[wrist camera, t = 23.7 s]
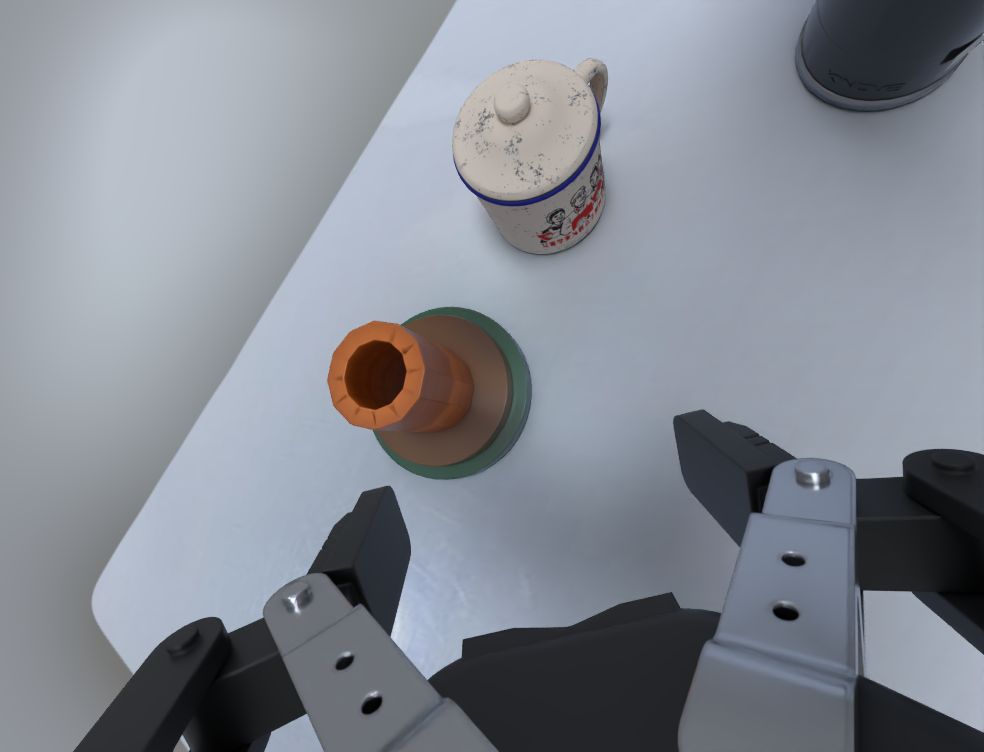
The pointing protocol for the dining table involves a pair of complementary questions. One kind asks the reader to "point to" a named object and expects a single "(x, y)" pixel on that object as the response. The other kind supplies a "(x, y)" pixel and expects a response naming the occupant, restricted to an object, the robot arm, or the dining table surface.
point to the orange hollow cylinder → (398, 381)
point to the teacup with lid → (536, 151)
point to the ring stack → (492, 406)
